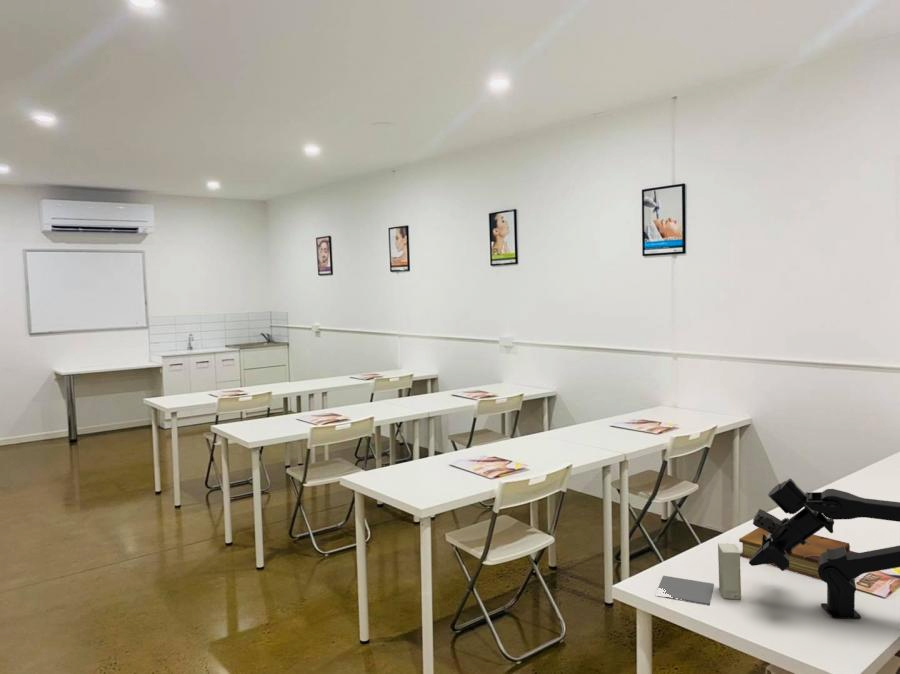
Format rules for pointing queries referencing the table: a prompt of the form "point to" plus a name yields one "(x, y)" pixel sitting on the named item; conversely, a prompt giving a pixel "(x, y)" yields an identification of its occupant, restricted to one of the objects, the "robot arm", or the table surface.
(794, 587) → the table surface
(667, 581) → the mat
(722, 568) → the skincare box
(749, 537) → the diary
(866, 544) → the table surface
